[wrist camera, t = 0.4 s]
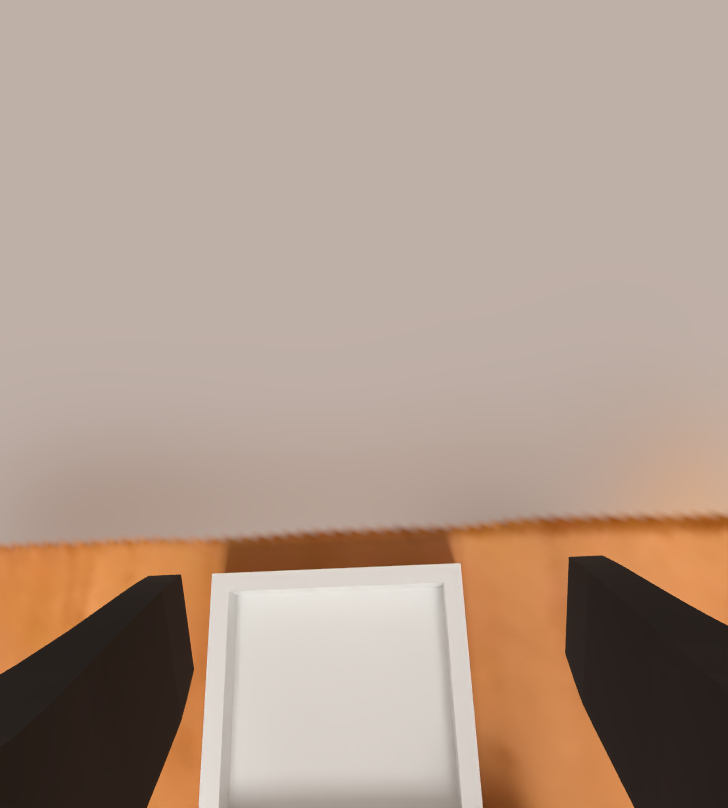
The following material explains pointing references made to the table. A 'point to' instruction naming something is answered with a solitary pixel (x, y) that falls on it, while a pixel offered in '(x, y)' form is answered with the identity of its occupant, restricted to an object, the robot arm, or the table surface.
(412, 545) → the table surface
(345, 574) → the white tray
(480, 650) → the table surface
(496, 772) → the table surface
